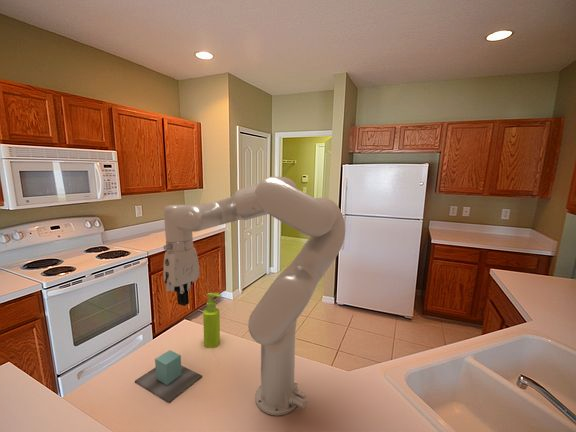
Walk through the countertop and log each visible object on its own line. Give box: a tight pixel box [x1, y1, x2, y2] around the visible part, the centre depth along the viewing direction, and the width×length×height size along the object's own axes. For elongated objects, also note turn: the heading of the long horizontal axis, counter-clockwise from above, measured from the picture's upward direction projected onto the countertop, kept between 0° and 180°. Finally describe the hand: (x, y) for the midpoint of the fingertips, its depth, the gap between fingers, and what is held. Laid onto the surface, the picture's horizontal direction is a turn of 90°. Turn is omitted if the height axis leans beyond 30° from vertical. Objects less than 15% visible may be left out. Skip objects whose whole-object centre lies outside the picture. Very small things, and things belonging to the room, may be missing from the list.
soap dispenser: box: [202, 292, 222, 349], centre depth 103 cm, size 6×7×20 cm
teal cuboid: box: [154, 349, 182, 385], centre depth 84 cm, size 5×5×7 cm
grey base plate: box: [134, 364, 203, 404], centre depth 84 cm, size 16×12×7 cm
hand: (183, 303), depth 84 cm, fingers closed
